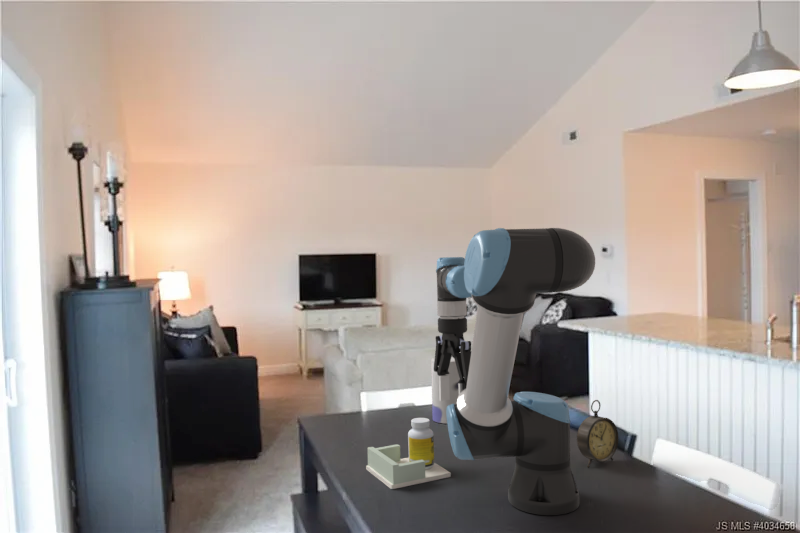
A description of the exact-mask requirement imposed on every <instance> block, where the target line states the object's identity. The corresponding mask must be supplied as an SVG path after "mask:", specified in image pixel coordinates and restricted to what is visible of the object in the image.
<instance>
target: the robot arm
mask: <svg viewBox="0 0 800 533" xmlns="http://www.w3.org/2000/svg"><path fill="white" fill-rule="evenodd" d="M595 268H596V255H595V251H594V250H593V247H592V245H591V244H590V243H589V242H588V241H587V239H586V238H584V237H583V235H580V234H579V233H577V232H575V231H572V230H569V229H566V228H561V227H549V228H548V227H547V228H544V227H543V228H516V229H515V228H509V229H508V228H507V229H506V228H504V227H503V228H502V227H498V228H495V229H486V230H480V231H478V232H477V233H475V234H474V235H473V237H471V239H470V240H469V243H468V246H467V248H466V252H465V256H464V257H463V256H450V257H449V256H447V257H438V259H437V260H436V270H435V273H436V293H437V294H436V295H437V304H436V307H437V309H436V310H437V316H438V317H439V318H438V319H437V332H438V333H441V335H436V336H435V350H434V351H435V352H434V353H435V354H434V358H435V361H434V371H435V372H437V374H438V375H439V400H440V401H444V400H450V390H449V375H446V374H449V372H448V368H449V364H450V361H451V357H453V358H454V359H455V363H456V367H457V370H458V374H459V378H460V381H459V382H458V387H459V396H458V399H457V404H452V405H448V406H447V409H446V416H447V424H446V425H447V430H448V437H449V442H450V445H451V446H450V447H451V449H452V453H453V455H454V456H455V457H456V458H457V459H459V460H461V461H467V460H468V461H476V460H479V461H480V460H488V459H502V458H513V457H515V466H514V470H513V473H512V477H511V479H510V480H511V481H510V483H509V486H508V488H507V496H508V498H507V499H508V502H509V504H510V505H511V506H512V507H514V508H516V509H517V510H519V511H522V512H525V513H530V514H534V515H539V516H558V515H565V514H569V513H572V512H575V511H576V510H577V509H578V508H579V506H580V492H579V489H578V487H577V483H576V480H575V477H574V474H573V471H572V468H571V418H570V408H569V404H568V403H567V401H565V400H564V399H563V398H561V397H558V396H555V395H553V394H548V393H544V392H543V393H542V392H536V391H520V392H515V393H514V396H513V397H512V398H513V400H511V399H510V398H509V392H510V386H511V383H512V382H511V380H512V377H513V376H512V375H513V372H514V371H513V370H514V367H515V366H514V364H515V360H516V355H517V349H518V344H519V339H520V334H521V329H522V323H523V318H524V314H526V313H527V312H530V310H532V308H533V307H534V306H535V300H536V297H537V296H536V295H537V294H547V293H548V294H550V293H551V294H552V293H562V292H567V291H572V290H576V289H577V288H579V287H581V286H583V285H584V284H586V283H587V282H588V281H589V280H590V279H591V277H592V275H593V273H594V270H595ZM469 298H472V300H473V302H474V303H475V304H476V306H477V309H476V316H475V324H474V331H473V338H472V341H471V340H469V341H468V340H467V341H466V340H465V338H464V334H465V333H467V331H468V318H467V317H466V316H467V314H468V313H467V312H468V311H467V305H468V304H467V299H469ZM438 366H439V367H438Z"/></svg>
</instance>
